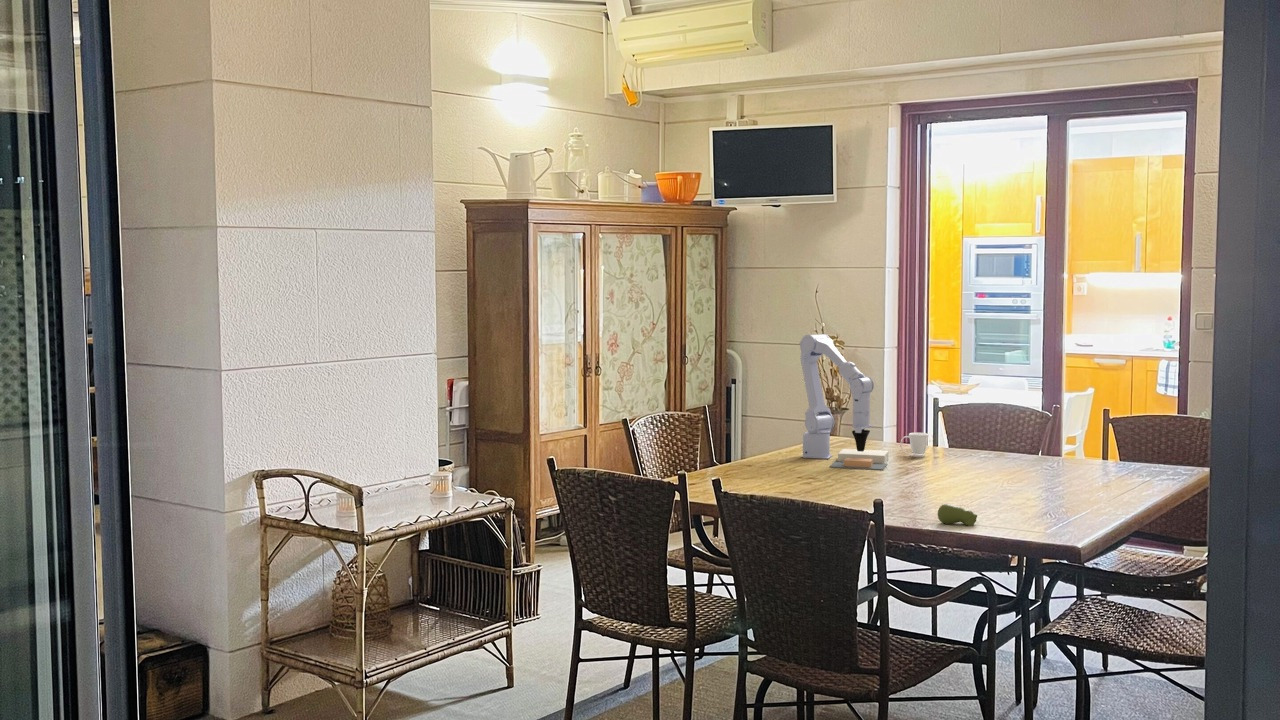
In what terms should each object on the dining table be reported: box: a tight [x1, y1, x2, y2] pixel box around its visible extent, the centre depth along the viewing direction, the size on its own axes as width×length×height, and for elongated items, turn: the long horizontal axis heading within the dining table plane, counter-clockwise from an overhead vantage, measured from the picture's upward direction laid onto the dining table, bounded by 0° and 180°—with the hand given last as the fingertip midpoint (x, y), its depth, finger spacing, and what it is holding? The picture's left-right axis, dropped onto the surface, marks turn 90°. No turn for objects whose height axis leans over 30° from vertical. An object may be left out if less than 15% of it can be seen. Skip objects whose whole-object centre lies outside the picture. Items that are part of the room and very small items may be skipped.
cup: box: [899, 432, 930, 458], centre depth 421 cm, size 7×10×8 cm
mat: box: [829, 460, 888, 471], centre depth 398 cm, size 18×12×1 cm, turn 72°
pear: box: [937, 503, 978, 527], centre depth 305 cm, size 6×5×10 cm
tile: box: [844, 458, 873, 468], centre depth 397 cm, size 9×6×2 cm, turn 72°
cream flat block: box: [837, 448, 889, 464], centre depth 410 cm, size 16×12×3 cm
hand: (860, 451), depth 403 cm, fingers closed
